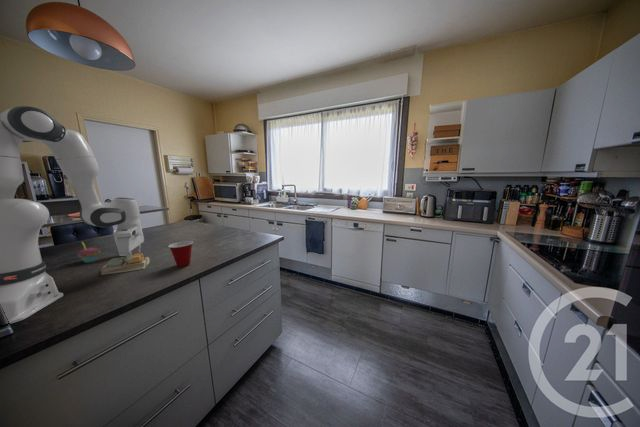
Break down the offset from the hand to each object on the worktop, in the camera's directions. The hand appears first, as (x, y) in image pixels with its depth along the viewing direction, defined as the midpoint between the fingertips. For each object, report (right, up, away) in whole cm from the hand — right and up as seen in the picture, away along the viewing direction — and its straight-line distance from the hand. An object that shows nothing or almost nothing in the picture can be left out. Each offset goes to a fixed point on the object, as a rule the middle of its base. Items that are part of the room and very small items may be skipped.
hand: (134, 256), depth 106 cm
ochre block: (0, -5, +2) cm, 5 cm away
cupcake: (-31, -4, +8) cm, 33 cm away
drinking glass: (-20, -3, +17) cm, 26 cm away
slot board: (-4, -6, 0) cm, 7 cm away
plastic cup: (+22, -6, +4) cm, 23 cm away
